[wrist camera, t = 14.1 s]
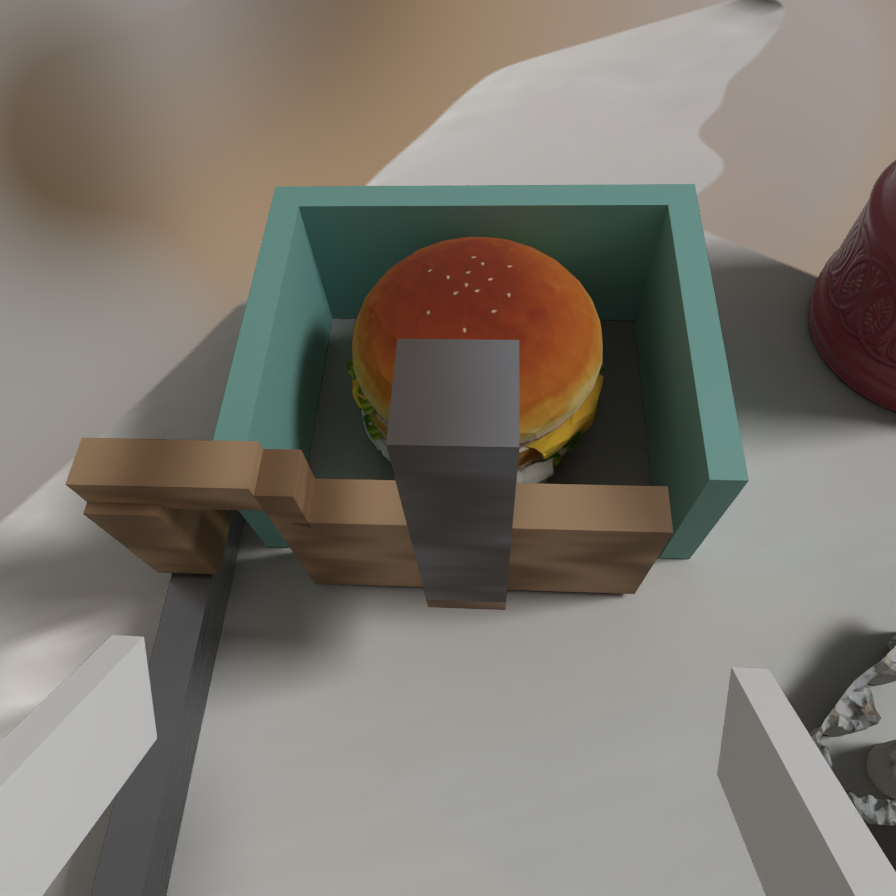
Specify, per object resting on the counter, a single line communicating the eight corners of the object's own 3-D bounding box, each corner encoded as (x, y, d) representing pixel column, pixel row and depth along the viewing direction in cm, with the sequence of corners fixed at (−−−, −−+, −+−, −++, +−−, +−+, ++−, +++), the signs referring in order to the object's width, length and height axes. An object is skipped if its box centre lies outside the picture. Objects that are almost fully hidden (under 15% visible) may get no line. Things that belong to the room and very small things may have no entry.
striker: (630, 545, 35) (774, 264, 17) (639, 655, 32) (820, 453, 15) (192, 533, 36) (-78, 262, 19) (166, 637, 34) (-175, 433, 16)
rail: (254, 470, 39) (240, 448, 36) (100, 1208, 24) (62, 1245, 22) (219, 469, 39) (204, 448, 37) (46, 1202, 24) (3, 1239, 22)
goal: (656, 301, 43) (694, 184, 35) (689, 558, 35) (748, 480, 27) (312, 299, 45) (275, 186, 37) (266, 546, 36) (205, 468, 28)
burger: (544, 297, 44) (559, 165, 35) (635, 476, 37) (681, 369, 29) (340, 354, 42) (303, 231, 34) (398, 550, 36) (371, 461, 27)
